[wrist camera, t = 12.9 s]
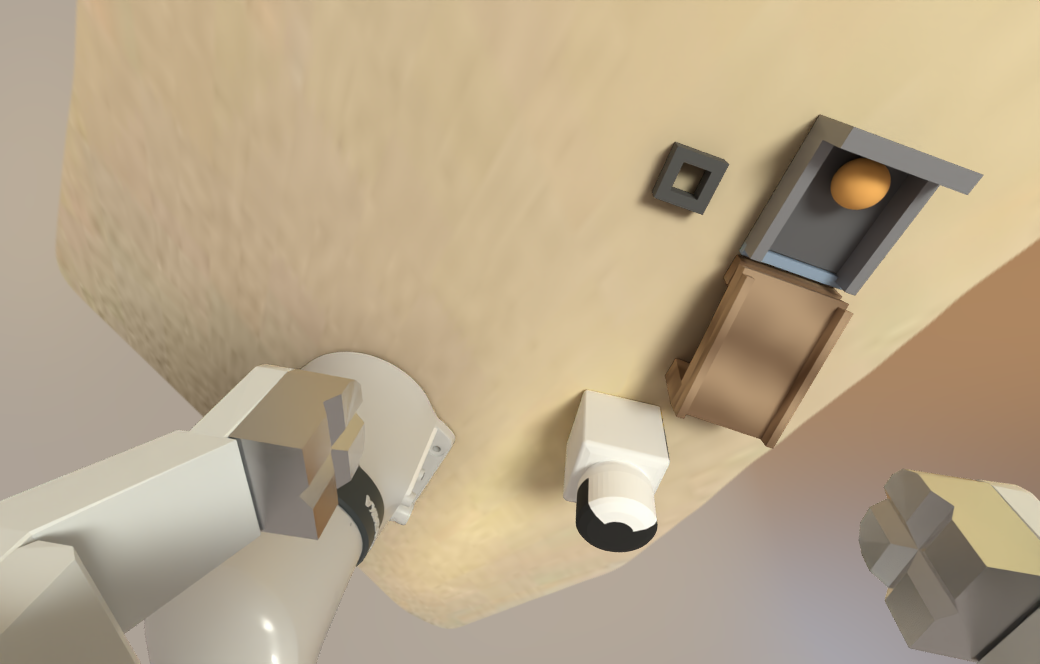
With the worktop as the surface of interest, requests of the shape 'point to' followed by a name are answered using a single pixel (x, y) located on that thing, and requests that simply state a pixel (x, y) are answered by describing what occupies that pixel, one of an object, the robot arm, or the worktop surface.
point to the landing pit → (837, 230)
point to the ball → (860, 183)
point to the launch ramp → (759, 351)
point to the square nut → (706, 186)
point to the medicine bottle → (615, 470)
